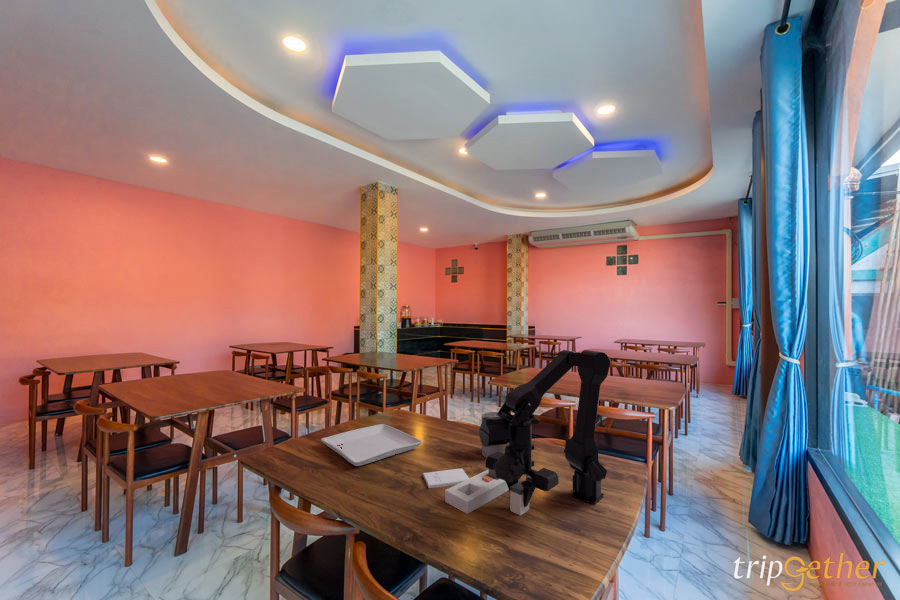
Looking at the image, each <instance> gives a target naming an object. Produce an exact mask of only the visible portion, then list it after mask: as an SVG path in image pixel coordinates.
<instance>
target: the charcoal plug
mask: <svg viewBox="0 0 900 600" xmlns="http://www.w3.org/2000/svg"><path fill="white" fill-rule="evenodd" d="M488 469H489V468H488ZM489 477H491V478H493V479H496V480H498V478H496V475H495V471H494V470H491V469H489Z"/></svg>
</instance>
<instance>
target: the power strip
mask: <svg viewBox="0 0 900 600" xmlns="http://www.w3.org/2000/svg"><path fill="white" fill-rule="evenodd" d="M508 491H509V489H508V486H507V484H506V482H505V481H504V480H502V479H498V480H496V479H493V478H491V477H489V468H487V469H486V470H484V471H483V472H480V473H477V474H476V475H474V476H471V477H469V479H467V480H465V481H463V482H461V483H459V484H457V485H452V486H451V487H449V488H447V489H445V490H444V502H445V503H446V504H448V505H450V506H452V507H454V508H455V509H458V510H459V511H461V512H463V513H464V514H466V515H468V514H470V513H472V512H474V511H476V510H477V509H478V508H480V507H482V506H484V505H485V504H487V503H489V502H491V501H493V500H494V499H496V498H498V497H499V496H501V495H503V494H505V493H506V492H508Z"/></svg>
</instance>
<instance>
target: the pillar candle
mask: <svg viewBox="0 0 900 600" xmlns="http://www.w3.org/2000/svg"><path fill="white" fill-rule="evenodd" d="M498 412H499V411H490V412H484V413H482V414H481V423H483V418H484V417H499V416H497V413H498ZM507 445H509V442H508V443H507V444H504V445H497V446H489V447H484V446H483V445H482V444H481V456H482V455H483V456H484V457H483V456H482V457H483V458H485V459H486V458H487V456H489V455H491V454H493V453H496V452H501V453H503V454H504V453H505V448H506V446H507Z"/></svg>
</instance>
